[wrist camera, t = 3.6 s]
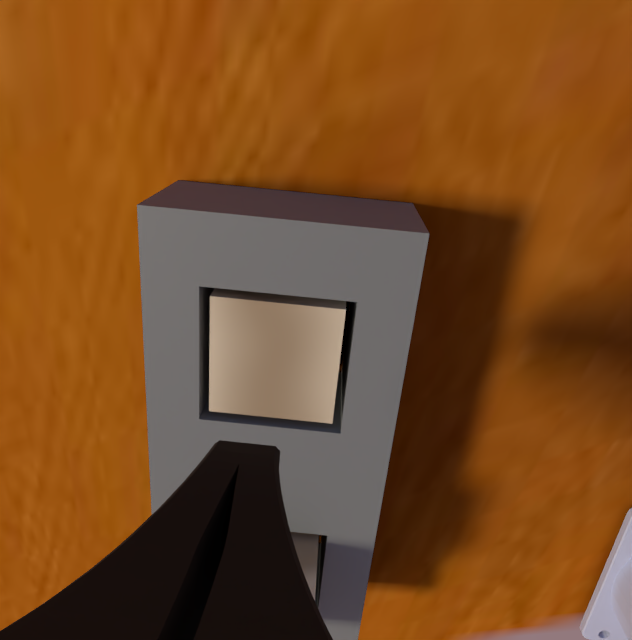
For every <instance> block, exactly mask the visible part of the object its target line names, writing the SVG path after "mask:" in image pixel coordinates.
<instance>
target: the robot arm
mask: <svg viewBox="0 0 632 640" xmlns="http://www.w3.org/2000/svg"><path fill="white" fill-rule="evenodd" d="M279 462H280V450H279V449H278V448H277V447H276V446H270V445H261V444H251V443H241V442H232V441H222V440H219V441H218V442H216V443H215V444H214V445H213V446H212V448H211V449H210V450H209V452H208V453H207V454H206V456H205V457H204V458H203V459H202V461H201V462H200V463H199V464H198V465H197V467H196V468H195V469H194V470H193V471H192V473H191V474H190V475H189V476H188V477H187V478H186V480H185V481H184V482H183V483H182V484H181V485H180V486H179V487H178V488H177V489H176V490H175V491H174V493H173V494H172V495H171V496H170V497H169V498H168V499H167V500H166V501H165V502H164V503H163V504H162V505H161V506H160V507H159V508H158V509H157V510H156V511H155V512H154V513H153V514H152V515H151V516H150V517H149V518H148V519H147V520H146V521H145V522H144V523H143V524H142V525H141V526H140V527H139V528H138V529H137V530H136V531H135V532H134V533H133V534H131V535H130V536H129V537H128V538H127V539H126V540H125V541H124V542H122V543H121V544H120V545H119V546H118V547H117V548H116V549H114V550H113V551H112V552H111V553H110V554H108V555H107V556H106V557H105V558H104V559H102V560H101V561H100V562H99V563H97V564H96V565H95V566H94V567H93V568H91V569H90V570H89V571H87V572H86V573H85V574H83V575H82V576H81V577H79V578H78V579H77V580H75V581H74V582H73V583H71V584H70V585H69V586H67V587H66V588H65V589H63V590H62V591H61V592H59V593H58V594H56V595H55V596H54V597H52V598H51V599H49V600H48V601H46V602H45V603H43V604H42V605H41V606H39V607H38V608H36V609H34V610H33V611H31V612H30V613H28V614H27V615H25V616H23V617H22V618H20V619H19V620H17V621H16V622H14V623H12V624H11V625H9V626H8V627H6V628H5V629H3V630H1V631H0V640H333V639H332V637H331V635H330V633H329V631H328V629H327V627H326V625H325V623H324V621H323V619H322V616H321V614H320V612H319V610H318V607H317V605H316V603H315V600H314V598H313V596H312V593H311V591H310V588H309V586H308V583H307V581H306V578H305V575H304V573H303V570H302V567H301V564H300V561H299V558H298V555H297V552H296V549H295V546H294V542H293V539H292V536H291V532H290V528H289V525H288V520H287V516H286V512H285V507H284V503H283V497H282V492H281V484H280V476H279ZM580 630H581V633H582V635H583V637H585V638H587V639H590V640H632V508H631V509H629V511H628V512H627V514H626V517H625V519H624V521H623V524H622V526H621V529H620V531H619V533H618V536H617V538H616V540H615V543H614V545H613V548H612V550H611V552H610V555H609V557H608V559H607V562H606V564H605V567H604V569H603V571H602V574H601V576H600V579H599V581H598V583H597V586H596V588H595V590H594V593H593V595H592V598H591V600H590V602H589V605H588V607H587V609H586V612H585V614H584V617H583V619H582V621H581V624H580Z"/></svg>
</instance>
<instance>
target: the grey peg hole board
mask: <svg viewBox="0 0 632 640" xmlns="http://www.w3.org/2000/svg"><path fill="white" fill-rule="evenodd" d="M137 213H138V234H139V255H140V276H141V297H142V318H143V340H144V361H145V382H146V403H147V424H148V445H149V466H150V487H151V508H152V514H153V513H154V512H155V511H156V510H157V509H158V508H159V507H160V506H161V505H162V504H163V503H164V502H165V501H166V500H167V499H168V498H169V497H170V496H171V495H172V494H173V493H174V491H175V490H176V489H177V488H178V487H179V486H180V485H181V484H182V483H183V482H184V481H185V480H186V478H187V477H188V476H189V475H190V474H191V473H192V471H193V470H194V469H195V468H196V467H197V465H198V464H199V463H200V462H201V461H202V459H203V458H204V457H205V456H206V454H207V453H208V452H209V450H210V449H211V448H212V446H213V445H214V444H215V443H216V442H218V441H219V440H222V441H232V442H241V443H251V444H261V445H270V446H276V447H277V448H278V449H279V450H280V462H279V476H280V484H281V492H282V497H283V503H284V507H285V512H286V516H287V520H288V525H289V528H290V532H297V533H307V534H317V535H322V536H321V544H319V543H318V557H317V574H316V592H315V603H316V605H317V607H318V610H319V612H320V614H321V616H322V619H323V621H324V623H325V625H326V627H327V629H328V631H329V633H330V635H331V637H332V639H333V640H358V635H359V629H360V623H361V618H362V612H363V606H364V601H365V595H366V589H367V584H368V578H369V573H370V567H371V561H372V556H373V550H374V544H375V539H376V533H377V527H378V522H379V516H380V510H381V505H382V499H383V493H384V488H385V482H386V477H387V471H388V465H389V460H390V454H391V448H392V443H393V437H394V431H395V426H396V420H397V414H398V409H399V403H400V398H401V392H402V386H403V381H404V375H405V369H406V364H407V358H408V352H409V347H410V341H411V335H412V330H413V324H414V318H415V313H416V307H417V302H418V296H419V290H420V285H421V279H422V273H423V268H424V262H425V256H426V251H427V245H428V239H429V232H428V230H427V228H426V226H425V225H424V223H423V221H422V219H421V217H420V216H419V214H418V212H417V210H416V208H415V207H414V205H413V203H405V202H395V201H385V200H375V199H364V198H354V197H344V196H334V195H324V194H313V193H303V192H293V191H283V190H272V189H262V188H252V187H242V186H232V185H221V184H211V183H201V182H191V181H181V180H178V181H176V182H175V183H173V184H171V185H170V186H168V187H166V188H165V189H163V190H161V191H160V192H158V193H156V194H154V195H153V196H151V197H149V198H148V199H146V200H144V201H143V202H141V203H139V204H138V205H137ZM215 288H220V289H230V290H240V291H250V292H260V293H270V294H280V295H290V296H300V297H310V298H320V299H330V300H340V301H350V307H349V315H348V323H347V331H346V339H345V347H344V356H343V364H342V372H341V373H338V381H337V389H336V398H335V406H334V414H333V423H332V424H330V423H321V422H311V421H301V420H291V419H281V418H272V417H262V416H252V415H242V414H232V413H223V412H213V411H209V344H210V295H211V294H212V292H213V290H214V289H215Z"/></svg>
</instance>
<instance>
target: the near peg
mask: <svg viewBox="0 0 632 640" xmlns="http://www.w3.org/2000/svg"><path fill="white" fill-rule="evenodd" d="M345 314H346V301H340V300H330V299H320V298H310V297H300V296H290V295H280V294H270V293H260V292H250V291H240V290H230V289H220V288H215V289H214V290H213V292H212V294H211V295H210V344H209V411H213V412H223V413H232V414H242V415H252V416H262V417H272V418H281V419H291V420H301V421H311V422H321V423H330V424H332V423H333V414H334V406H335V398H336V389H337V381H338V373H339V364H340V356H341V348H342V339H343V331H344V322H345Z"/></svg>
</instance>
